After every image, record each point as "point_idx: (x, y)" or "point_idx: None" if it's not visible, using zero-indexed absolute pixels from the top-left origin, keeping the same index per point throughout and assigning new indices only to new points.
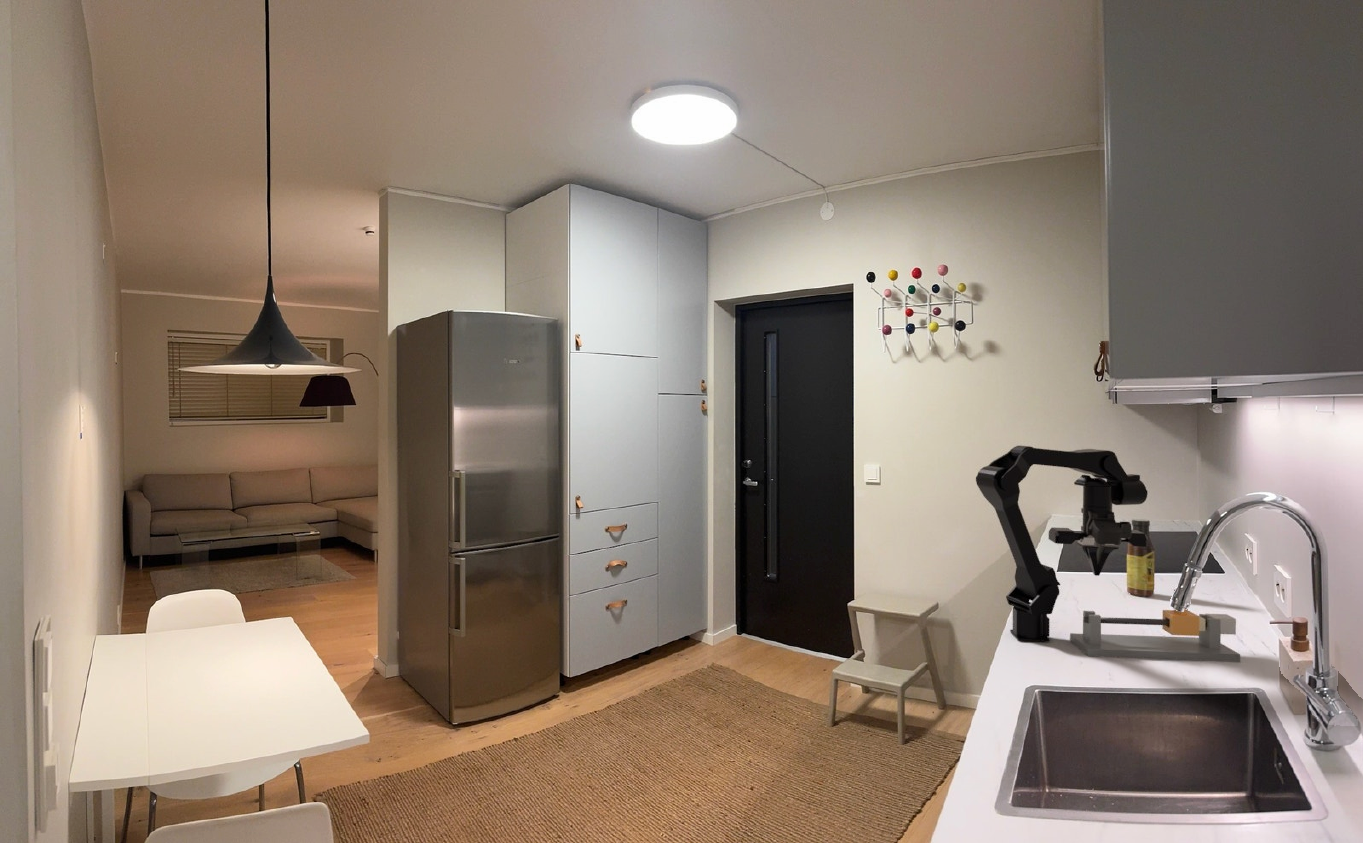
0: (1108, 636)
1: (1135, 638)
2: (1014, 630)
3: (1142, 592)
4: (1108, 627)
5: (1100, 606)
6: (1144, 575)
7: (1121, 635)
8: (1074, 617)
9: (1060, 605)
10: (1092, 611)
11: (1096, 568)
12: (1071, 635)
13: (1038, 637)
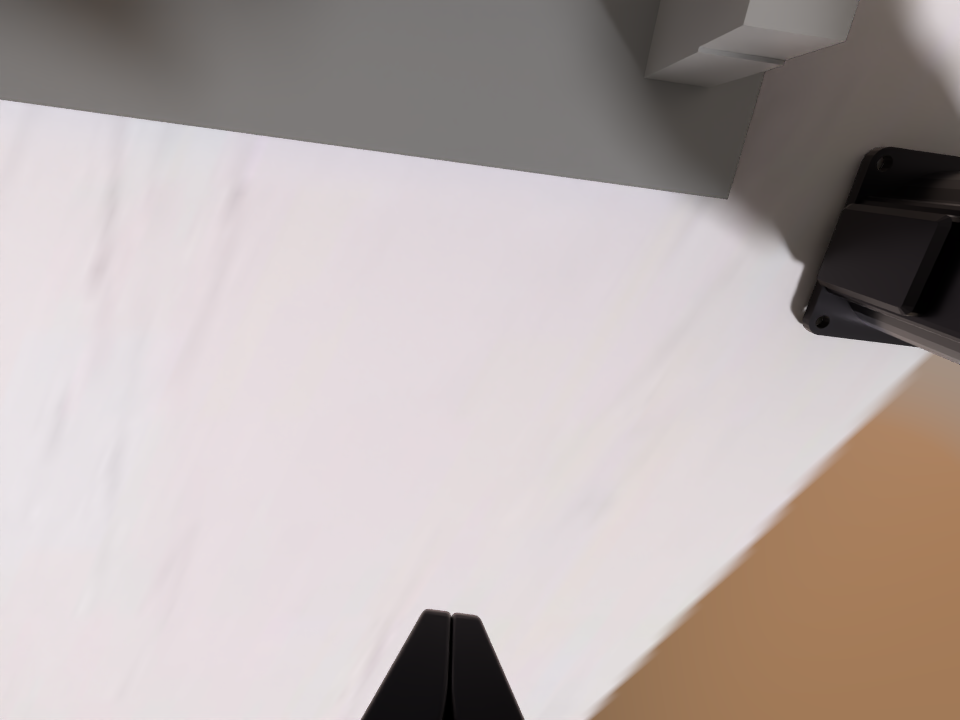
0: (510, 121)
1: (343, 68)
2: None
3: None
4: (351, 422)
5: (241, 704)
6: None
7: (409, 142)
8: (447, 569)
9: None
10: (766, 3)
11: (476, 711)
12: (732, 172)
13: (941, 173)
